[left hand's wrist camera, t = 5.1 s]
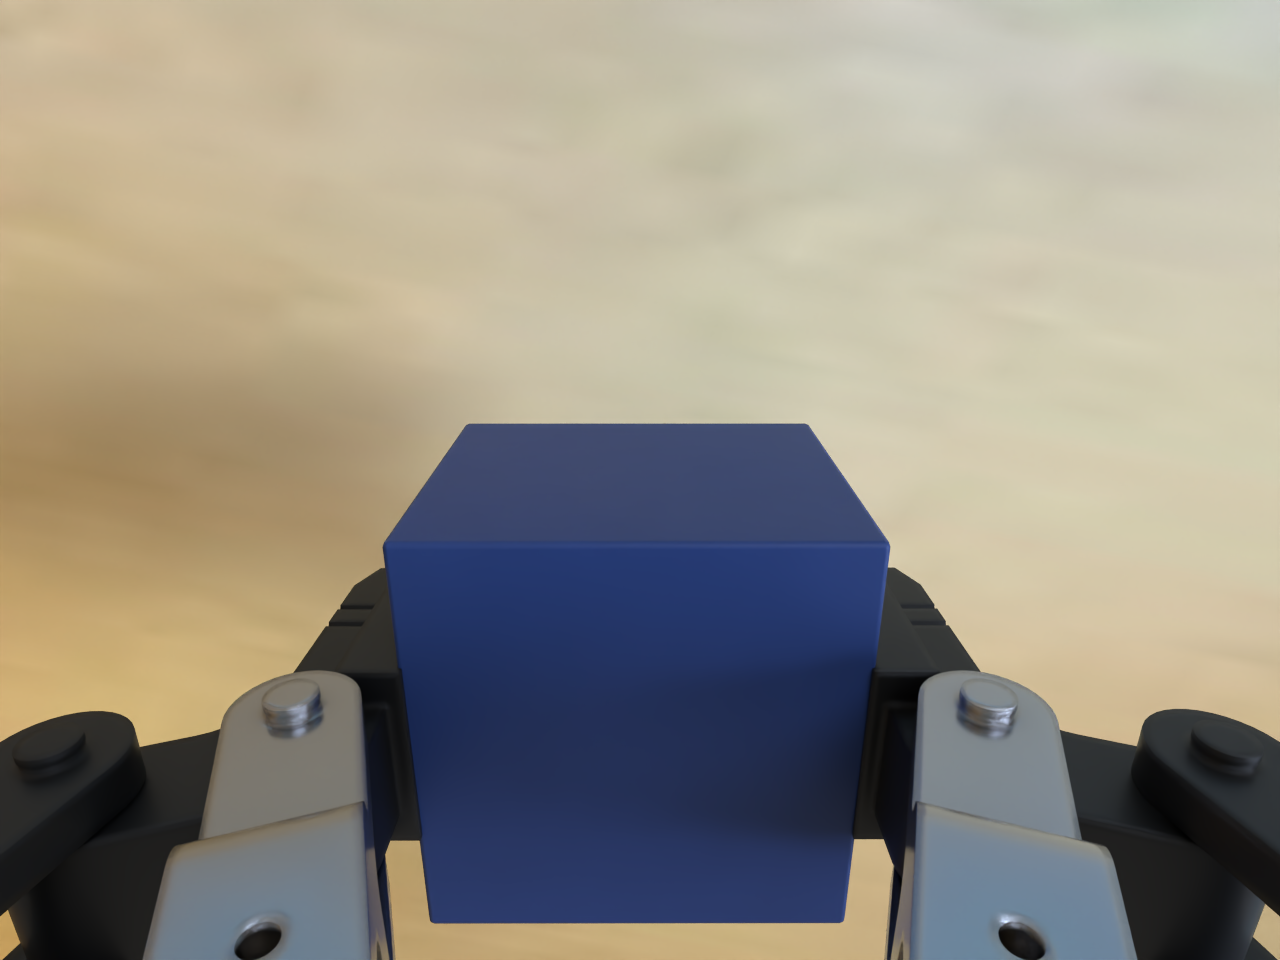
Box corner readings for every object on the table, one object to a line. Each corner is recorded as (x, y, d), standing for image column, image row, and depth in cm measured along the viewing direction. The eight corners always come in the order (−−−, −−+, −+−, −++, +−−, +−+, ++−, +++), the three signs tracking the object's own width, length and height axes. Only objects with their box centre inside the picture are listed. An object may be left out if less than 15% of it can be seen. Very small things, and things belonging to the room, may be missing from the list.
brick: (466, 422, 11) (378, 543, 8) (809, 422, 11) (892, 543, 8) (488, 711, 13) (428, 925, 9) (786, 711, 13) (845, 926, 9)
